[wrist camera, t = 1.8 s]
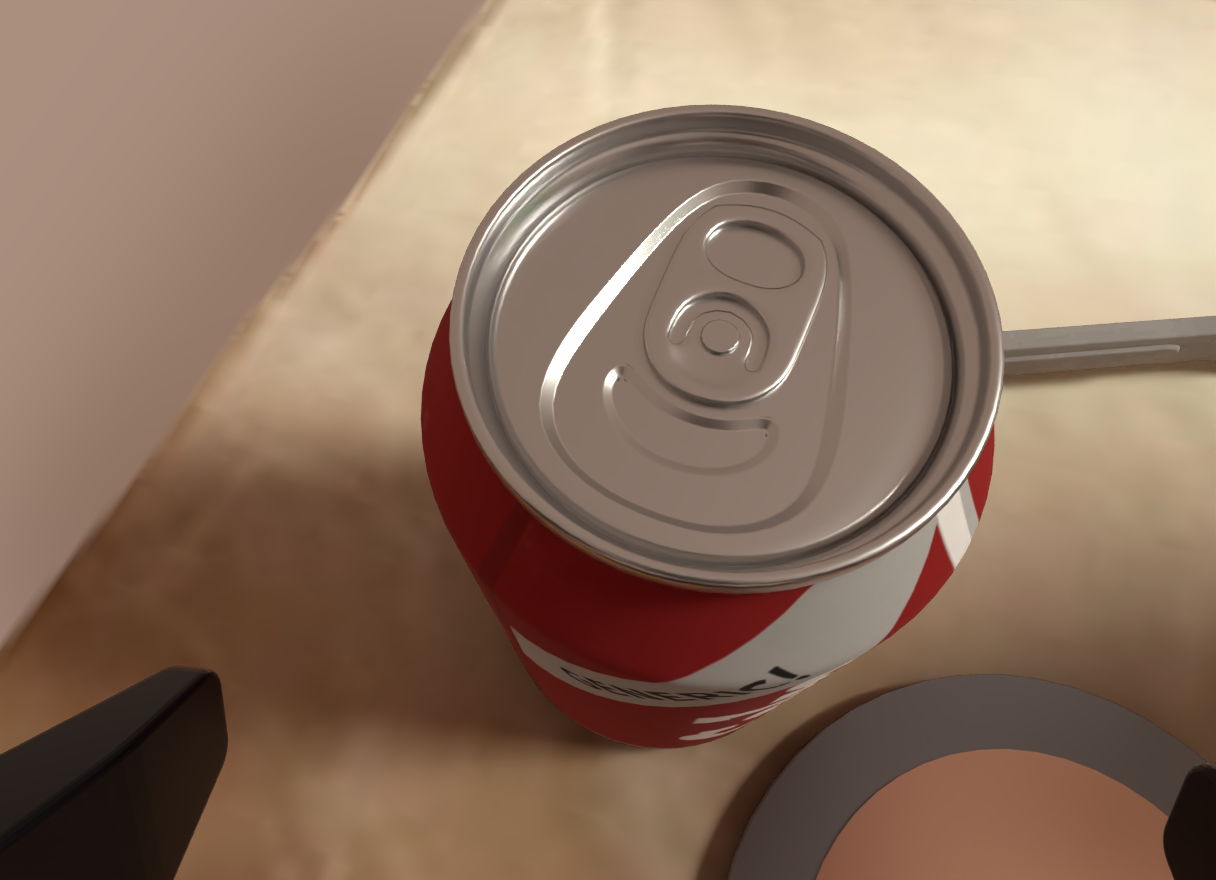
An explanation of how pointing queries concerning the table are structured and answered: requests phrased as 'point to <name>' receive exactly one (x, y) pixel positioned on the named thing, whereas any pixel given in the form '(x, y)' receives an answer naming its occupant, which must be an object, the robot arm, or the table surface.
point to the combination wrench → (1109, 345)
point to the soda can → (710, 414)
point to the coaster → (972, 789)
